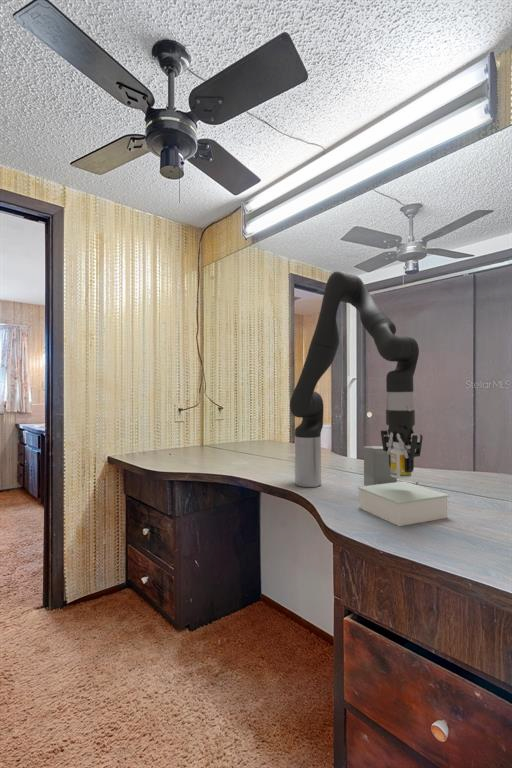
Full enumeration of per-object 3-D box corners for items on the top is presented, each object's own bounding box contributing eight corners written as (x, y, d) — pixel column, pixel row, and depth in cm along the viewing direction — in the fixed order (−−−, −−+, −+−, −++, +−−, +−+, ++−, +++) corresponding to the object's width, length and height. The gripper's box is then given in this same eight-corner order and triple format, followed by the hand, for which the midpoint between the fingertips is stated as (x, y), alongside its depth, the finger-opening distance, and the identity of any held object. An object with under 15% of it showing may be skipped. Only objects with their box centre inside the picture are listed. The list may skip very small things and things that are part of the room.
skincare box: (374, 501, 119) (374, 448, 119) (362, 495, 126) (361, 445, 126) (399, 498, 121) (398, 447, 121) (385, 492, 128) (384, 444, 128)
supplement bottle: (388, 477, 107) (387, 442, 107) (394, 473, 112) (393, 440, 112) (408, 479, 104) (407, 443, 104) (413, 476, 108) (413, 441, 109)
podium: (358, 507, 112) (357, 486, 112) (403, 501, 118) (403, 481, 118) (398, 526, 97) (398, 502, 97) (449, 518, 103) (448, 495, 103)
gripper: (372, 407, 113) (373, 466, 113) (408, 410, 100) (409, 476, 100) (392, 406, 116) (393, 464, 116) (430, 409, 103) (431, 473, 103)
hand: (401, 469), depth 108 cm, fingers closed on supplement bottle, 5 cm apart
